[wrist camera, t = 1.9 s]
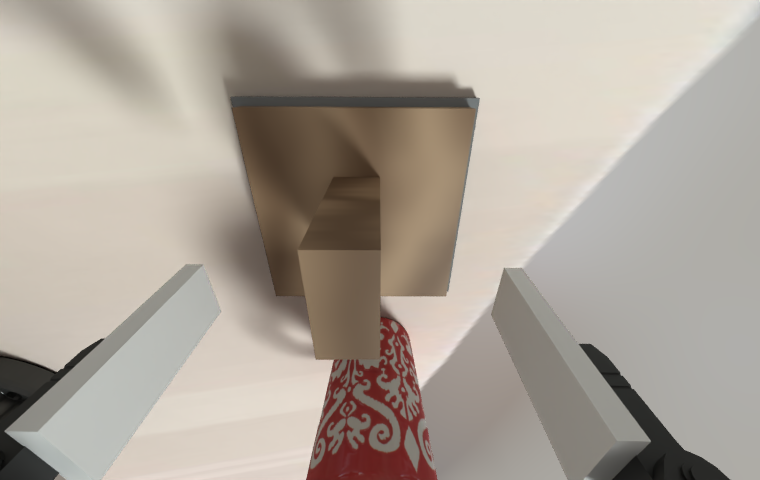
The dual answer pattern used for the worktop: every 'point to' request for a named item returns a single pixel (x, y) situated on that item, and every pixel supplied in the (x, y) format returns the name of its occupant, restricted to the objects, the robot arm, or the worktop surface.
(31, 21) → the worktop surface
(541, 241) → the worktop surface
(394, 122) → the wooden base stand
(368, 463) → the mug
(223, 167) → the worktop surface
